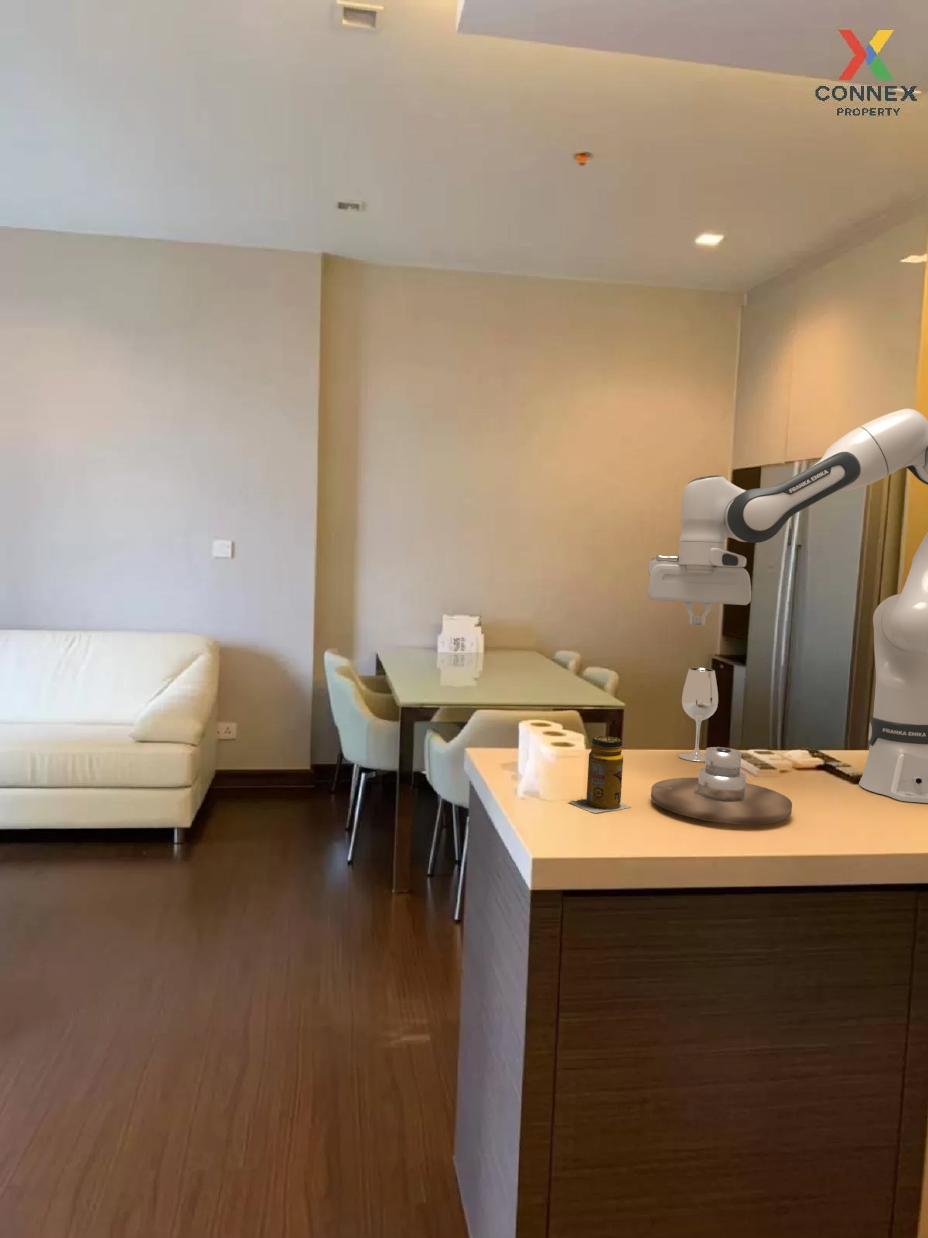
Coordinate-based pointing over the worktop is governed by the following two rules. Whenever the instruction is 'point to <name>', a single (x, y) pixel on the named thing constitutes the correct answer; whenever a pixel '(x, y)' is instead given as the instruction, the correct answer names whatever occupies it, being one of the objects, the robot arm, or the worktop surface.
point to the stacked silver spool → (722, 775)
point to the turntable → (721, 803)
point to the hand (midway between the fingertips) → (697, 625)
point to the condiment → (604, 776)
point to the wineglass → (699, 703)
